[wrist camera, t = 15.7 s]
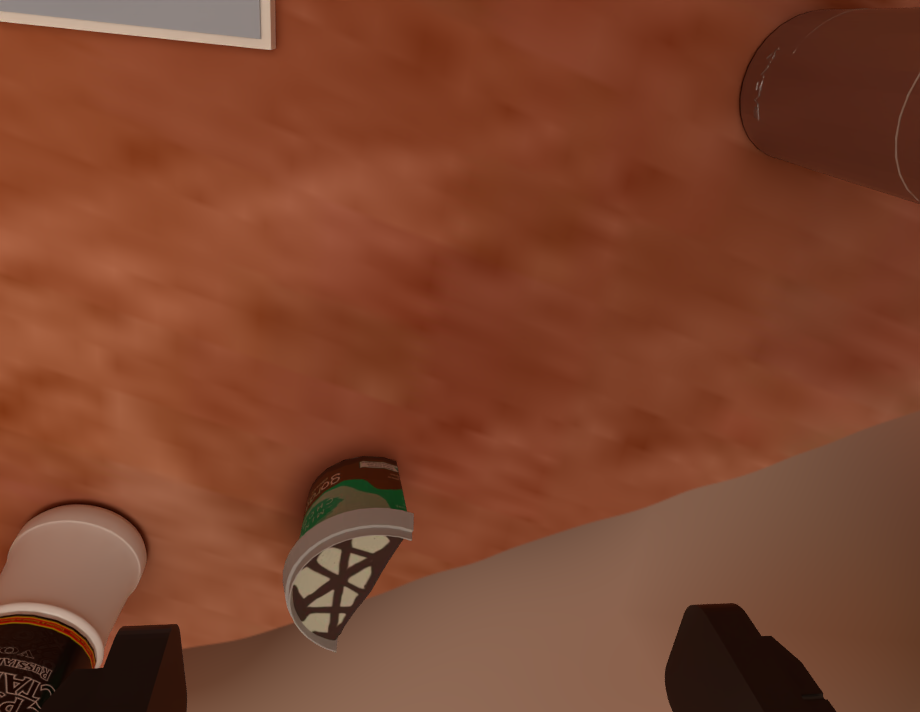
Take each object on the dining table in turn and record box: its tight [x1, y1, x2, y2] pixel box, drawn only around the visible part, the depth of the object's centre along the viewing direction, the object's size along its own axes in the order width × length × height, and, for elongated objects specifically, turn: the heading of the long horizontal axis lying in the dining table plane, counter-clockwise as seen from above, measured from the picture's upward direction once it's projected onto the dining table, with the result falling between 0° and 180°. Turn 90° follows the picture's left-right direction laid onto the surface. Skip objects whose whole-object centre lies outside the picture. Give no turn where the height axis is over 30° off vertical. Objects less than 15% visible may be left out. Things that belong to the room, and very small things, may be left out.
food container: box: [283, 456, 414, 652], centre depth 48 cm, size 12×6×10 cm, turn 149°
